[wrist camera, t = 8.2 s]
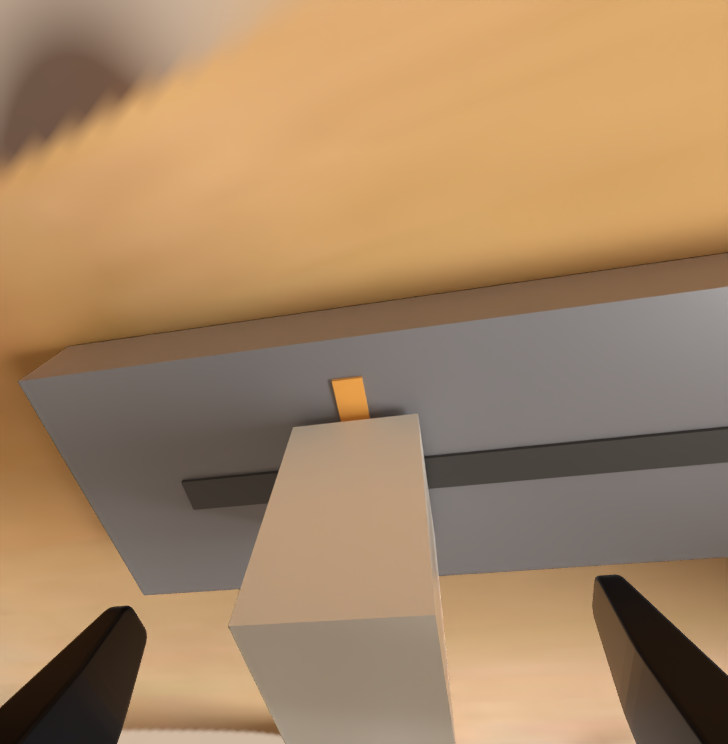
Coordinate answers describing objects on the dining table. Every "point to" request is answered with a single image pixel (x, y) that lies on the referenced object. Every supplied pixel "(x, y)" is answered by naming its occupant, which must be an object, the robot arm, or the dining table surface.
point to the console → (421, 421)
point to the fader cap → (348, 591)
